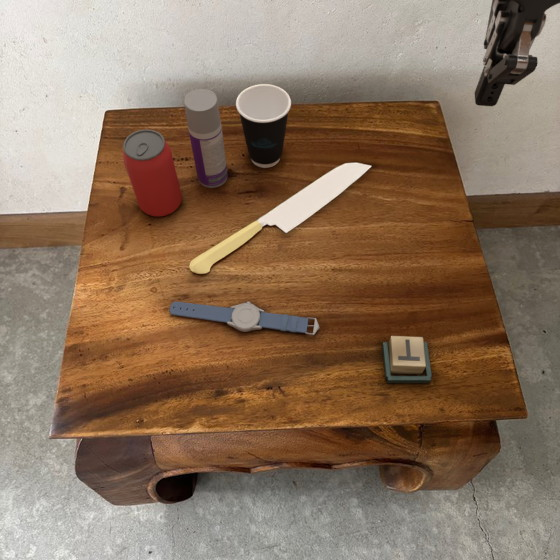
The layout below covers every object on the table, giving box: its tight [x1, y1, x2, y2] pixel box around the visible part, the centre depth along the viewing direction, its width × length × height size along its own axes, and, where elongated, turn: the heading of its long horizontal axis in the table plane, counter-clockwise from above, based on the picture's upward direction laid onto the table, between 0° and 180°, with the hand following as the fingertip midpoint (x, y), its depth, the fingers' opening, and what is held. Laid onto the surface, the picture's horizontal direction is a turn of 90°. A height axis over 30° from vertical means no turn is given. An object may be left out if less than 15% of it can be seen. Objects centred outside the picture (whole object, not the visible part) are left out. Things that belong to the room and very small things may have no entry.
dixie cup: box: [235, 83, 292, 169], centre depth 83 cm, size 8×8×11 cm
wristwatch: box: [169, 301, 321, 336], centre depth 72 cm, size 4×20×1 cm, turn 81°
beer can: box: [122, 128, 183, 217], centre depth 78 cm, size 7×7×12 cm
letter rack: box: [381, 341, 433, 384], centre depth 69 cm, size 5×6×1 cm
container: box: [183, 88, 229, 189], centre depth 79 cm, size 5×5×15 cm
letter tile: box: [387, 335, 426, 376], centre depth 68 cm, size 4×4×3 cm
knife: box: [188, 162, 372, 275], centre depth 81 cm, size 1×34×5 cm
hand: (484, 100), depth 58 cm, fingers closed
